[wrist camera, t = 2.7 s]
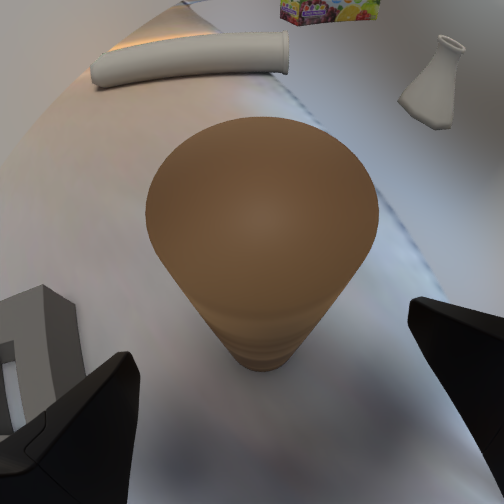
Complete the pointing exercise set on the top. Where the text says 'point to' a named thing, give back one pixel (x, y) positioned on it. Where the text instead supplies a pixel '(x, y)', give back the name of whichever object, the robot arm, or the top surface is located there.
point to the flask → (435, 87)
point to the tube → (194, 57)
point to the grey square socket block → (39, 350)
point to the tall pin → (262, 230)
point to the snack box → (327, 11)
